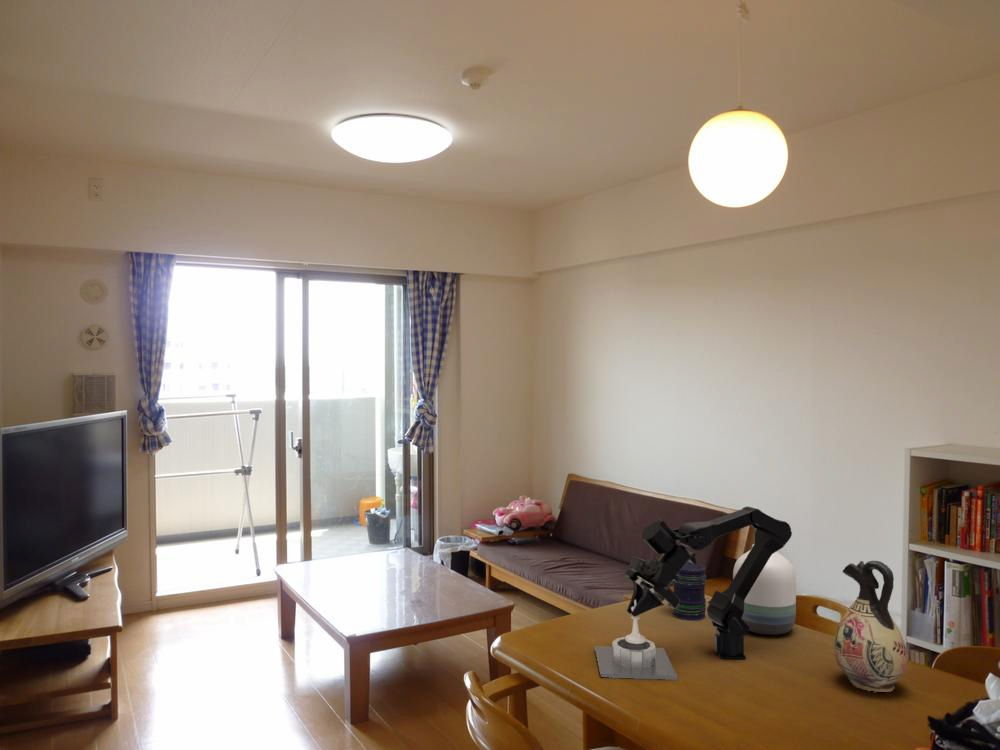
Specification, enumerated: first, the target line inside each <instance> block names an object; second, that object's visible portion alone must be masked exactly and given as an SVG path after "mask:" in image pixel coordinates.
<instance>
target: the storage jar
mask: <svg viewBox="0 0 1000 750" xmlns="http://www.w3.org/2000/svg"><path fill="white" fill-rule="evenodd" d="M677 577H678V578H679V579H678V580H677V582H676V581H674V580H673V581H672V584H673V592H674V593H675V594H676V595H677V596H678V597H679V598H680V604H679V605H678V607H677V608H676V609H674V608H672V616H673V617H675V618H676V619H679V620H682V621H683V620H684V621H691V622H698V621H703V620H704V618H705V619H706V610H707V604H706V603H707V601H706V596H705V595H706V593H705V591H706V590H705V589H706V588H705V587H706V586H707V585H706V584H707V582H706V580H707V575H706V566H705V565H704V564H700V563H696V564H692V563H690V562H687V563H686V564H685V566H684V567H683V568H682V569H681V571H680V572H679V573H678V574H677ZM702 619H703V620H702Z"/></svg>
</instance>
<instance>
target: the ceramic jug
mask: <svg viewBox="0 0 1000 750" xmlns="http://www.w3.org/2000/svg"><path fill="white" fill-rule="evenodd" d="M873 570H875V571H878V572H879V573H880V574H881V575H882V579H883V580H882V581H883V585H882V588H881V592H880V593H881V594H880V597H879V598H878V596H877V595H878V594H877V591H876V590H878V589H879V588H880V584H879V582H878V580H877V578H876V576H875V575H874V571H873ZM842 573H843V575H846V576H847V577H849V578H851V579H852V580H854V581H855V582H856V583H857V584H858V585H859V592H858V596H857V597H856V599H855V600H854V602H853V603H852V604H851V605H850V606H849V608H848V609H847V611H845V614H844V615H843V617H842V618H841V620H840V622H839V623H838V625H837V628H836V633H835V636H834V642H833V653H834V654H833V655H834V656H835V657H834V658H835V661H836V663H837V664H838V666H839V668H840V669H841V670H842V671H843V673H844V674H845V675H846V677H847V678H848V681H849V680H850V681H849V683H850V682H851V683H852V684H853V685H854V686H853V685H852V686H853V687H855V686H857V687H858V688H861V689H864V690H867V691H866V692H870V691H874V692H873V693H876V692H890V693H892V692H893V691H894V690H895V684H896V683H897V682H898V681H900V680H901V678H903V676H904V674H905V673H906V671H907V669H908V668H907V666H908V650H907V647H906V643H905V640H904V637H903V635H902V633H901V631H900V629H899V627H898V626H897V624H896V622H895V620H894V619H893V618H892V616H891V614H890V611H889V602H890V600H891V597H892V594H893V590H894V581H895V579H894V573H893V571H892V570H891V568H890V567H889V566H888V565H887V564H885V563H884V562H882V561H880V560H869V561H867V562H865V563H864V561H862V560H860V562H859V563H857V565H856V564H854V563H851V562H850V563H848V565H846V566H845V567H844V569H843V570H842ZM858 688H857V689H858ZM861 689H860V690H861ZM893 689H894V690H893ZM864 690H863V691H864ZM891 691H892V692H891Z"/></svg>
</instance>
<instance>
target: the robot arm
mask: <svg viewBox="0 0 1000 750" xmlns="http://www.w3.org/2000/svg"><path fill="white" fill-rule="evenodd" d="M749 526H751V527H752V528H754V529H755V532H754V543H753V544H754V546H753V547H752V546H751V548H750V550H751V551H750V550H749V551H750V552H749V554H748V556H747V557H746V559H745V561H744V562H743V564H742V565H741V567H740V569H739V570H738V572H737V574H736V575H735V577H734V579H733V578H732V581H731V582H730V584H728V587H727V588H726V589H725V590H724V591H722V592H721V591H719V590H715V591H714V593H713V595H712V597H711V599H710V600H709V601H708V602H707V605H708V606H707V607H706V612H707V616H708V619H709V620H710V621H711V623H712V626H713V627H714V628H716V633H715V634H714V645H713V646H714V647H713V648H714V651H715V653H716V654H717V656H718V657H719V658H720V659H730V660H733V659H734V660H739V659H740V660H745V659H746V658H747V657H746V655H745V654H744V653H745V645H744V643H745V642H744V641H745V636H748V635H749V632H750V631H749V628H750V627H749V626H748V625H747V624H746V623H745V622H744V621H743V620H742V619H741V618H742V616H743V613H744V600H745V598H746V597H747V595H748V593H749V592H750V590H751V588H752V587H753V585H754V583H755V582H756V580H757V578H758V577H759V575H760V573H761V572H762V570H763V568H764V567H765V565H766V563H767V562H768V560H769V558H770V557H771V555H772V554H773V553H775V552H776V551H777V552H779V551H780V550H781V549H783V548H784V547H785V546H786V545H787V544H788V543H789V541H790V540H791V538H792V535H793V531H792V528H791V526H790V524H789V523H788V522H786V521H783V520H780V519H776V518H774V517H772V516H770V515H768V514H766V513H764V512H763V511H762V510H761V509H759V508H755V507H751V506H745V507H742V508H741V509H739V510H736V511H732V512H731V513H728V514H724V515H722V516H720V517H716V518H714V519H711V520H707V521H694V522H693V521H692V522H686V523H683V524H681V525H680V526H679V527H677V528H674V529H670V527H669V526H668V524H667V523H666V521H664V520H663V519H658V520H657V521H656V522H653V523H651V524H649V525H648V526H646V527H645V528H644V530H643V531H642V533H641V539H642V540H643V541H644V542H645V543H646V544H647V545H648V546H649V547H650V548H651V549H652V550H653V551H654V552H655V553H656V554H658V555H661V557H659V559H658V560H657V559H650V558H648V559H646V560H645V559H642V558H639V557H638V556H635V555H633V556H632V558H631V561H630V564H629V566H628V569H627V571H626V572H624V576H625V577H626V578H627V579H629V581H631V584H633V585H632V586H633V593H632V596H631V599H630V601H629V603H628V605H627V608H626V612H627V614H631V616H634V617H635V616H640V615H642V614H644V613H646V612H649V611H650V610H653V609H655V608H658V607H663V606H664V605H665V604H664V603H663V602H664V601H666V602H667V603H668V604H667V605H668V607H670V608H671V609H673V608H674V609H676V608H677V607H678V605H679V604H680V598H679V597H678V596H677V595H676V594H675V593H674V590H673V589H671V588H670V587H669V586H670V584H672V583H673V580H674V581H676V582H677V580H678V579H679V578H678V577H677V574H678V573H679V572H680V571H681V569H682V568H683V567H684V566H685V564H686V563H687V562H689V563H692V564H696V563H697V558H696V553H695V552H693V551H689V550H688V549H687V548H690V549H692V550H695V551H702V550H704V549H705V548H707V547H708V546H710V545H712V544H713V542H715V540H716V539H718V538H720V537H722V536H726V535H727V534H731V533H733V532H736V531H739V530H741V529H744V528H748V527H749ZM677 542H678V543H680V544H681V545H679V544H678V543H677ZM686 547H687V548H686ZM697 564H698V563H697ZM634 600H636V606H635V608H634V610H633V611H632V610H631V607H633V606H634Z"/></svg>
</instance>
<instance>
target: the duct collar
mask: <svg viewBox="0 0 1000 750" xmlns="http://www.w3.org/2000/svg"><path fill="white" fill-rule="evenodd" d="M645 640H646V641H645V642H644V643H640V644H634V643H629V642H627V641H626V636H622V637H617V638H615V639H614V640H613V641H612V643H611V644H612V646H609V645H604V646H602V645H595V646H594V653H595V652H596V653H595V656H596V657H597V658H596V662H597V661H598V662H597V667H598V666H599V667H598V671H599V675H601V676H600V678H601V677H609V678H608V679H619V678H634V679H633V680H657V679H662V680H661V681H664V680H663V679H665V681H678V675H677V673H676V671H675V669H674V667H673V664H672V662H671V660H670V658H669V656H668V654H667V652H666V650H665V648H664V647H657V646H656V645H655V642H653V641H651V640H649V639H647V638H645ZM611 677H612V678H611Z"/></svg>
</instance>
